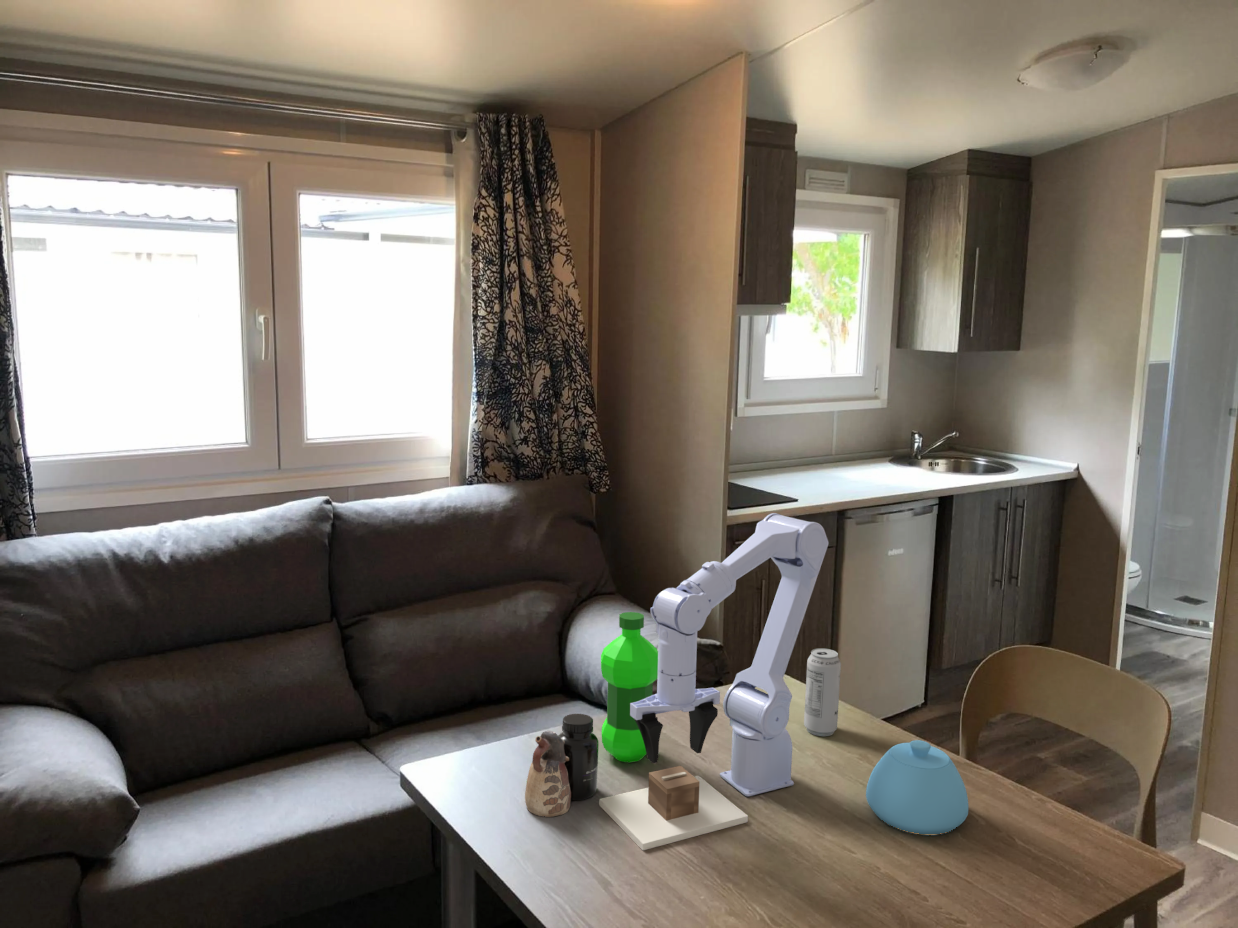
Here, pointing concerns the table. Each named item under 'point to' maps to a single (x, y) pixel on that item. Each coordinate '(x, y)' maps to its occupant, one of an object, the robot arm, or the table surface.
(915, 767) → the sugar bowl
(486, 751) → the table surface
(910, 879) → the table surface
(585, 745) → the supplement bottle
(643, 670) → the plastic bottle
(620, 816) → the board
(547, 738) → the figurine
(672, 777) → the walnut knob
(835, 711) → the energy drink can
